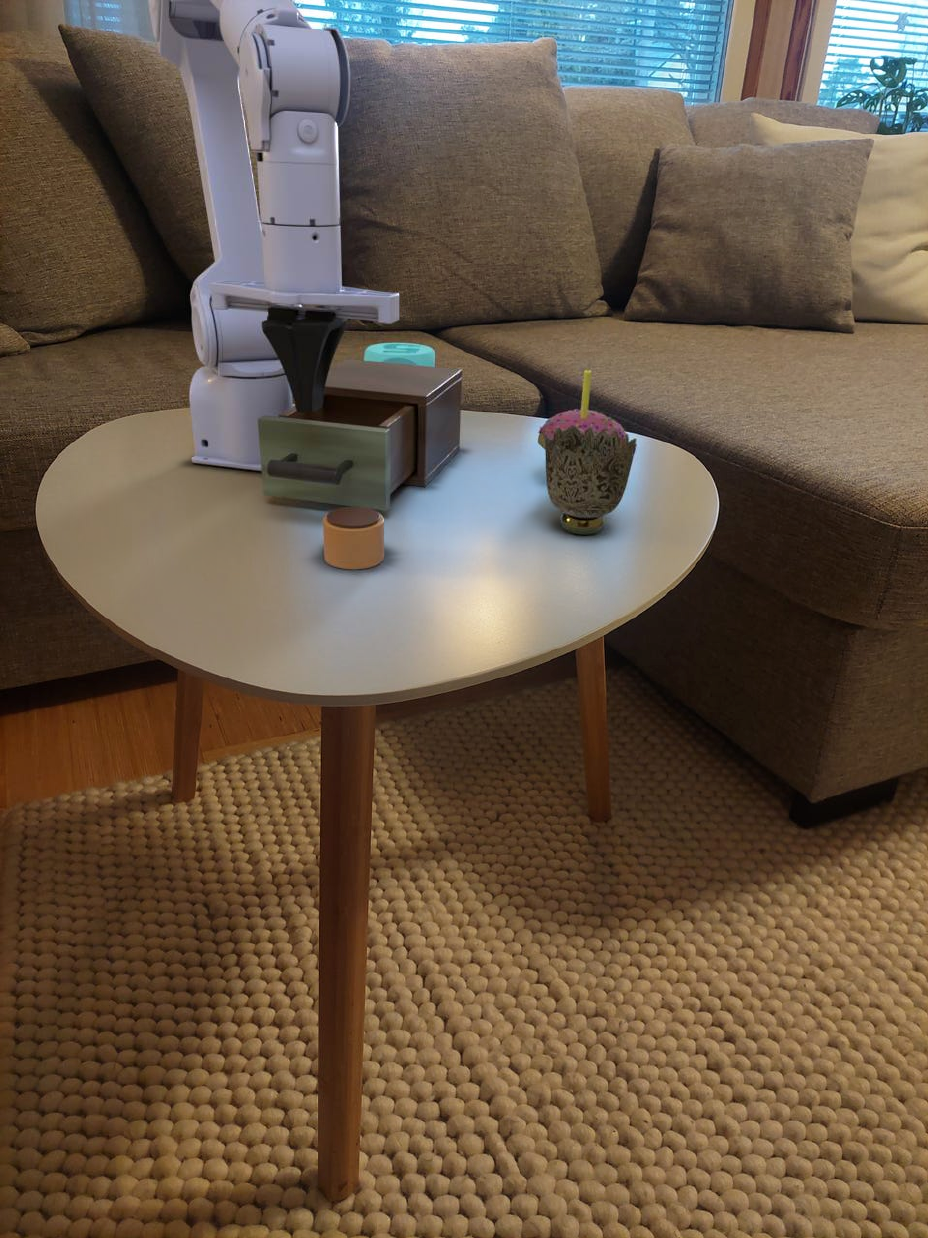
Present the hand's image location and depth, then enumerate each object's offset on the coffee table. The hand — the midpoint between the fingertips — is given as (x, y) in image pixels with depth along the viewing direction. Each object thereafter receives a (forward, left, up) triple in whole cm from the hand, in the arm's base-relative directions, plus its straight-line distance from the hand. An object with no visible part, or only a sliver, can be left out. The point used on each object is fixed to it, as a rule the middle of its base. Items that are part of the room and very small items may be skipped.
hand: (309, 409), depth 70 cm
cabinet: (0, +18, -9) cm, 20 cm away
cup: (+22, +6, -10) cm, 25 cm away
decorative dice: (-4, +35, -10) cm, 36 cm away
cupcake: (+20, +18, -10) cm, 28 cm away
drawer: (0, +6, -9) cm, 10 cm away
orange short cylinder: (+6, -6, -10) cm, 13 cm away
